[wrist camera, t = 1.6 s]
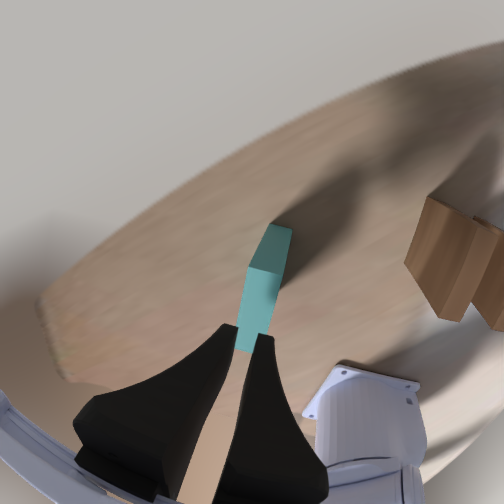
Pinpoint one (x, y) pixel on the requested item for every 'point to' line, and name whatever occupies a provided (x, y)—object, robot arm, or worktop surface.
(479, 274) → the domino
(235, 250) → the worktop surface
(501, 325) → the domino
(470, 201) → the worktop surface
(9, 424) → the robot arm
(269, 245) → the domino
